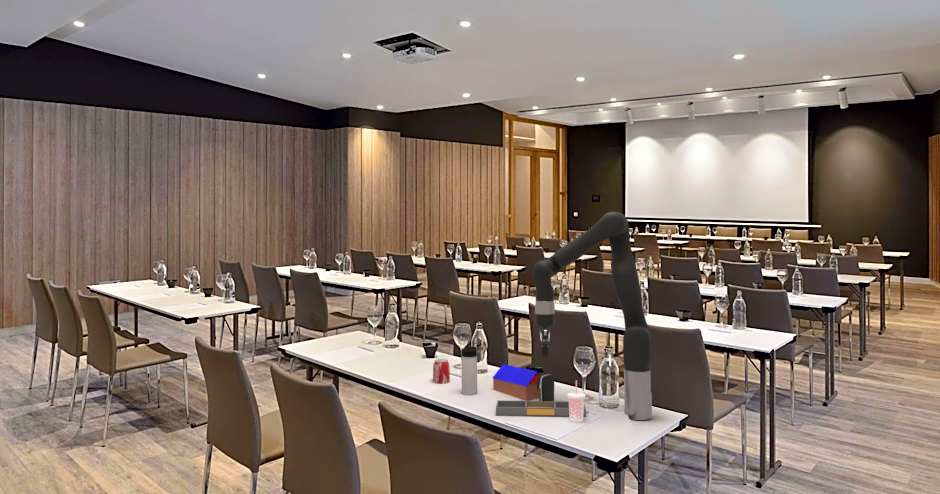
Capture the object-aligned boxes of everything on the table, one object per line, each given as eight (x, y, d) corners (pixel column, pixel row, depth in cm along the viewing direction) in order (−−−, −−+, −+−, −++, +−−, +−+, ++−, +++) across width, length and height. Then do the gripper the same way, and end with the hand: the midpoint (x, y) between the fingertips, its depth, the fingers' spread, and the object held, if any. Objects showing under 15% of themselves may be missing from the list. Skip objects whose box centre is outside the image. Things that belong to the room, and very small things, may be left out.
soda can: (449, 390, 275) (449, 361, 275) (432, 390, 275) (432, 362, 275) (450, 386, 282) (449, 358, 282) (433, 386, 282) (433, 359, 282)
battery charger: (547, 401, 254) (547, 372, 254) (554, 403, 251) (554, 373, 251) (535, 404, 250) (535, 375, 250) (542, 406, 247) (542, 376, 247)
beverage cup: (576, 423, 224) (576, 382, 224) (563, 419, 229) (563, 379, 229) (589, 420, 227) (588, 380, 227) (576, 416, 232) (576, 377, 232)
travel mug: (481, 397, 263) (480, 347, 262) (469, 400, 258) (469, 349, 258) (469, 394, 267) (469, 345, 267) (458, 397, 262) (458, 347, 262)
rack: (583, 409, 242) (583, 401, 242) (586, 417, 232) (585, 408, 232) (497, 408, 245) (497, 400, 245) (495, 415, 235) (495, 407, 235)
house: (513, 389, 276) (513, 362, 276) (548, 398, 260) (547, 369, 260) (492, 394, 268) (492, 365, 268) (526, 403, 253) (526, 373, 253)
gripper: (555, 314, 243) (555, 358, 243) (554, 310, 257) (554, 351, 257) (535, 314, 243) (535, 357, 244) (534, 310, 258) (534, 351, 258)
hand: (544, 354), depth 250 cm, fingers open, 8 cm apart
